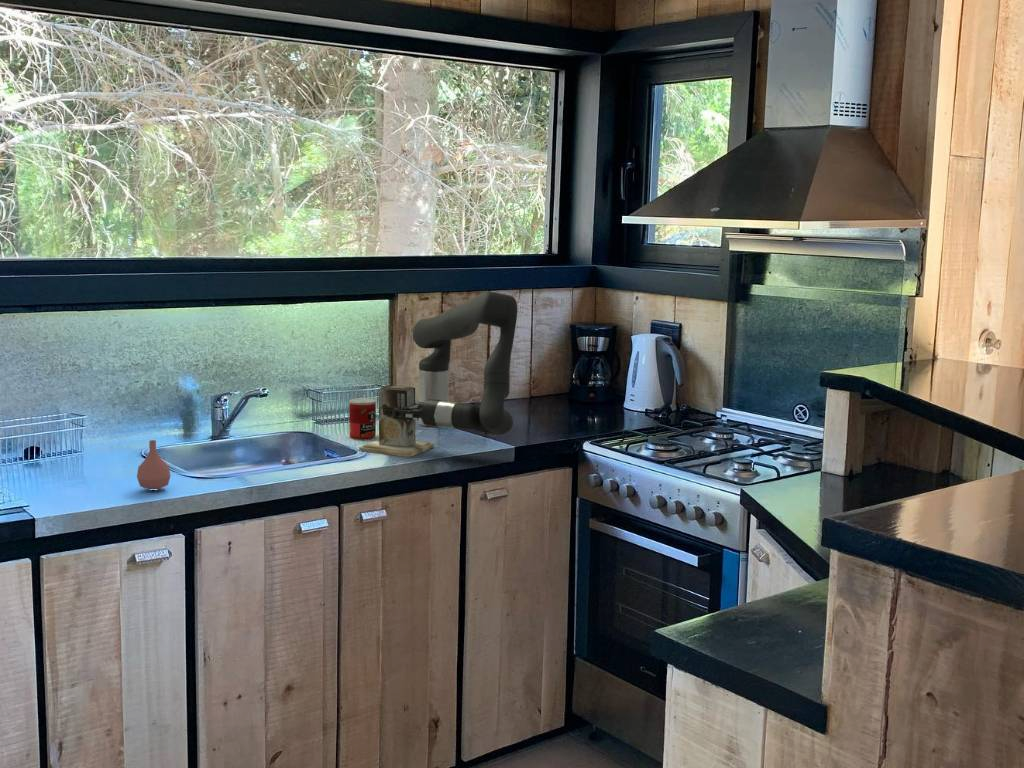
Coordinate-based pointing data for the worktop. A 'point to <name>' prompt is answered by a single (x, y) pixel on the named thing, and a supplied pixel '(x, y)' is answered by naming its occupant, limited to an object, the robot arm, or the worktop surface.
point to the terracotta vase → (153, 470)
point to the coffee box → (396, 429)
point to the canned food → (362, 418)
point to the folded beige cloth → (397, 448)
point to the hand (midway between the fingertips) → (391, 408)
